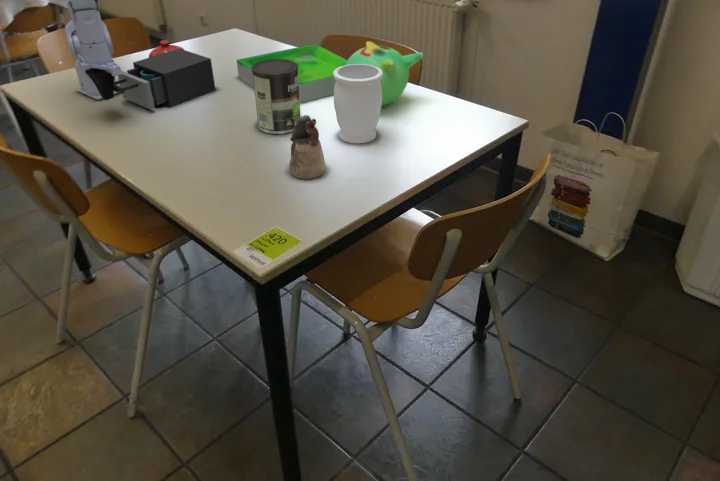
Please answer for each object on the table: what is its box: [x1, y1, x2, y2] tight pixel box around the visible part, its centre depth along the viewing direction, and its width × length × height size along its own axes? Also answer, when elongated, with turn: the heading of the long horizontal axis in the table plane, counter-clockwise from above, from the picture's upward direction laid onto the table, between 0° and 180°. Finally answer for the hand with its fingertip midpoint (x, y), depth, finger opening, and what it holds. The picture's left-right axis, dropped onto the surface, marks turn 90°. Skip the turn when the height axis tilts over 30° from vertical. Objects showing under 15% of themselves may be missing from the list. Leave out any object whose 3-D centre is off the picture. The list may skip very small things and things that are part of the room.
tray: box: [236, 43, 348, 104], centre depth 154 cm, size 25×25×5 cm
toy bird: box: [345, 40, 424, 107], centre depth 140 cm, size 18×17×15 cm
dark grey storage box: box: [132, 48, 216, 107], centre depth 147 cm, size 14×13×8 cm
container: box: [140, 69, 161, 96], centre depth 143 cm, size 5×5×6 cm
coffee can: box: [251, 59, 302, 135], centre depth 130 cm, size 10×10×14 cm
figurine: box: [289, 114, 326, 180], centre depth 113 cm, size 7×7×12 cm
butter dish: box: [148, 39, 185, 58], centre depth 160 cm, size 12×12×8 cm
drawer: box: [114, 67, 168, 110], centre depth 142 cm, size 19×12×7 cm, turn 142°
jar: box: [333, 64, 383, 144], centre depth 125 cm, size 11×10×15 cm
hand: (108, 98), depth 135 cm, fingers closed, pressing on drawer
